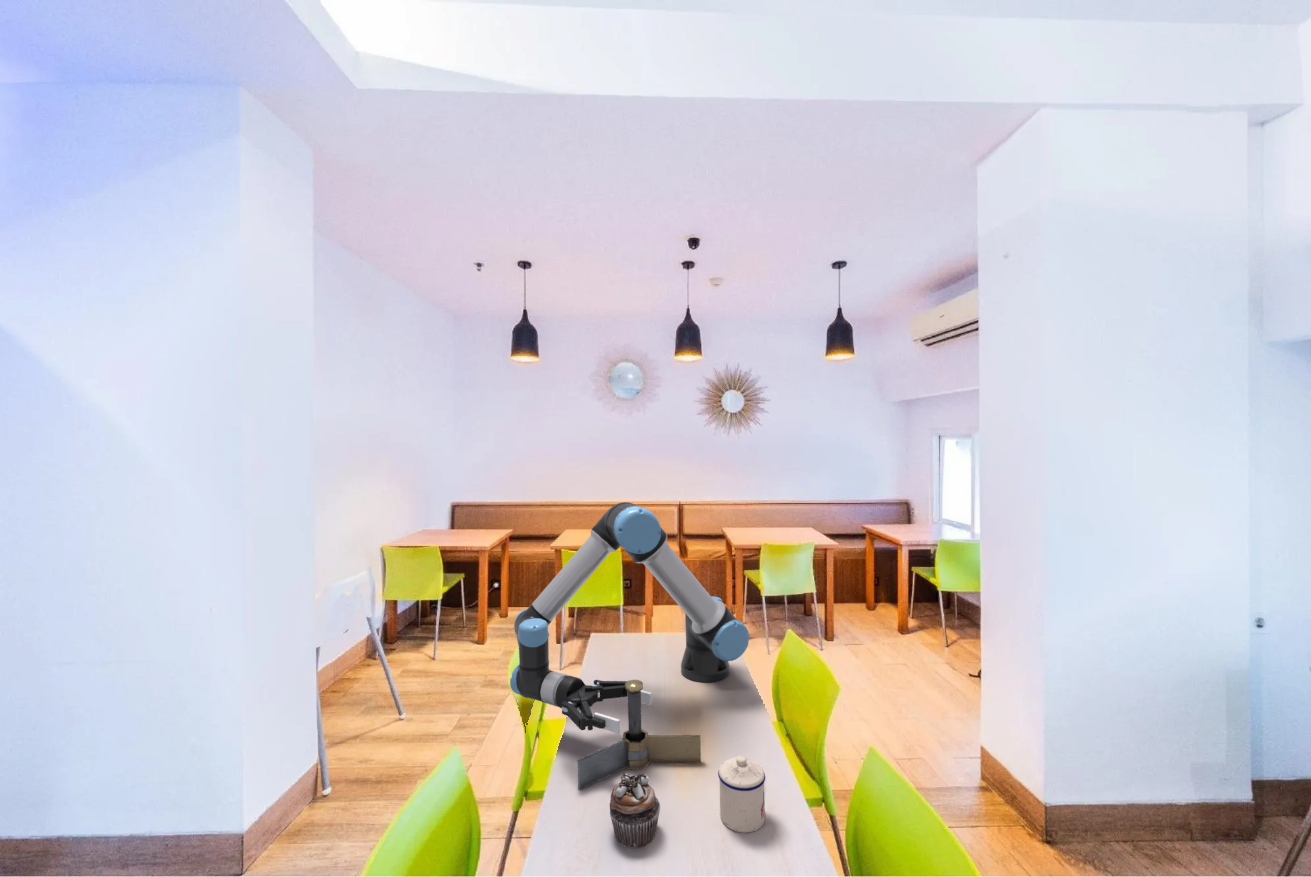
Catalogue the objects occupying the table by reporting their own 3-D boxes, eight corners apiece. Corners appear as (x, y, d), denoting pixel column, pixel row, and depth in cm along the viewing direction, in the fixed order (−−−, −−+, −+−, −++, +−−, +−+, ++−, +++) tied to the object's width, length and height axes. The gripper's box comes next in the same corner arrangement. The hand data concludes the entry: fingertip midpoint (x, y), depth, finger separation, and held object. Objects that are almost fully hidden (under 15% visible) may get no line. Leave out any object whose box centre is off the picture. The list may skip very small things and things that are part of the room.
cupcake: (609, 853, 96) (608, 798, 96) (610, 815, 106) (609, 765, 106) (662, 850, 97) (661, 795, 97) (659, 812, 107) (658, 762, 106)
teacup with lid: (773, 830, 101) (772, 769, 101) (727, 838, 99) (726, 776, 99) (750, 789, 113) (749, 734, 113) (709, 795, 111) (708, 739, 111)
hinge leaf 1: (638, 750, 127) (638, 726, 127) (653, 762, 122) (653, 736, 122) (572, 781, 116) (571, 754, 116) (585, 795, 112) (585, 767, 112)
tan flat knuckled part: (700, 754, 125) (699, 729, 125) (701, 769, 119) (700, 743, 119) (624, 753, 126) (624, 728, 126) (622, 769, 120) (621, 743, 120)
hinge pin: (645, 756, 125) (643, 679, 125) (643, 766, 121) (642, 687, 121) (627, 756, 125) (626, 679, 125) (626, 766, 121) (624, 687, 121)
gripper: (594, 685, 144) (662, 704, 133) (528, 730, 122) (604, 757, 112) (593, 657, 144) (662, 674, 133) (527, 698, 122) (603, 722, 112)
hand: (635, 712), depth 122 cm, fingers open, 13 cm apart
